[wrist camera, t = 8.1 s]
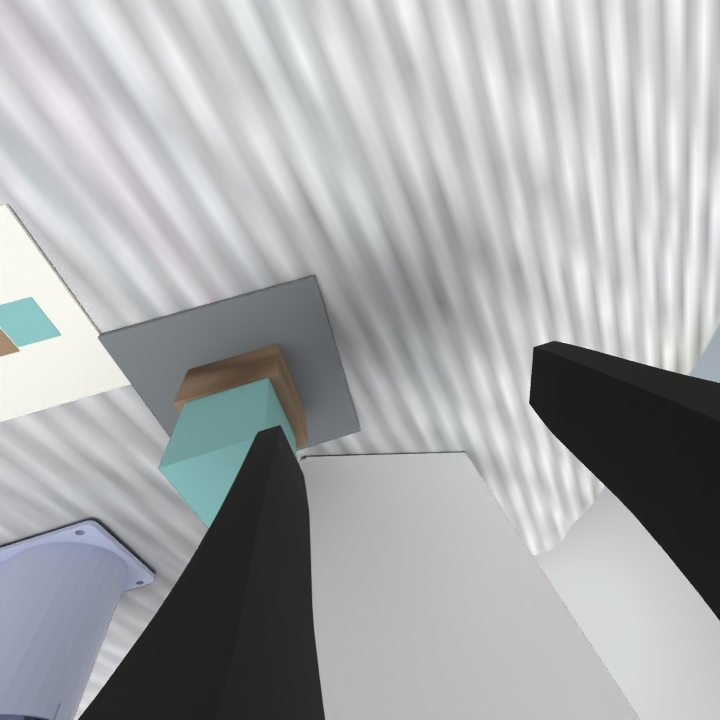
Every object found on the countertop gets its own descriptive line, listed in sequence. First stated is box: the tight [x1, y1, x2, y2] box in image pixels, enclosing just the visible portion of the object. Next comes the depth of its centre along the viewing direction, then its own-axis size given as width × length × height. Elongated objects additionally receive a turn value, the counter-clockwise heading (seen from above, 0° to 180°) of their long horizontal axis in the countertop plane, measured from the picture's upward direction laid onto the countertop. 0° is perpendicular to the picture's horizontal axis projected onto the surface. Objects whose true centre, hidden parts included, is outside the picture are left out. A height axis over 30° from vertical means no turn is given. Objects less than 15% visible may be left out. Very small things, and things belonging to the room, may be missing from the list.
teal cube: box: [158, 378, 297, 529], centre depth 15 cm, size 4×4×4 cm
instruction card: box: [0, 205, 131, 422], centre depth 15 cm, size 7×9×1 cm
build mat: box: [97, 275, 360, 451], centre depth 19 cm, size 11×11×1 cm
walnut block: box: [173, 344, 308, 449], centre depth 18 cm, size 5×5×3 cm
